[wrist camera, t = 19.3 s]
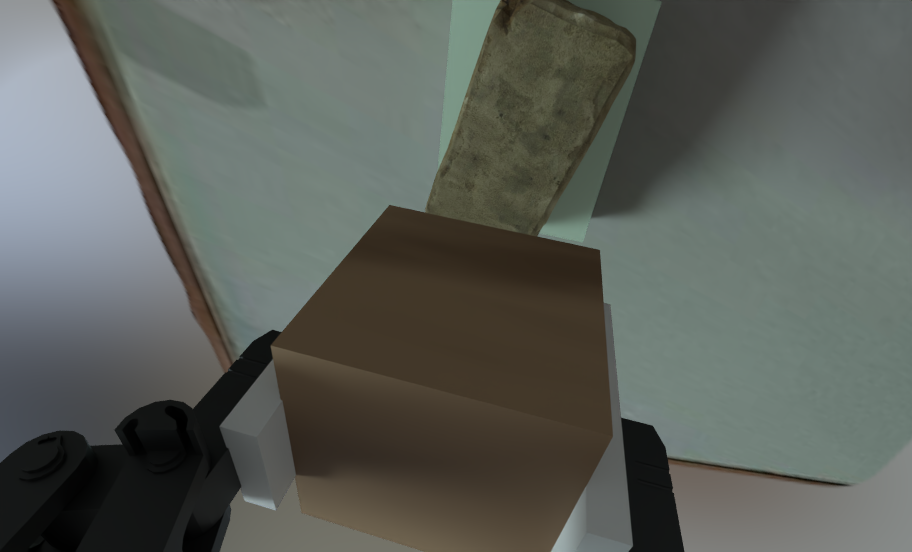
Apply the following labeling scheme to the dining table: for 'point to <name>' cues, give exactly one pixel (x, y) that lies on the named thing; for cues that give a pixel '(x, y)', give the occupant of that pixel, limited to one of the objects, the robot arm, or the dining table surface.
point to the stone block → (530, 113)
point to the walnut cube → (449, 386)
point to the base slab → (635, 9)
